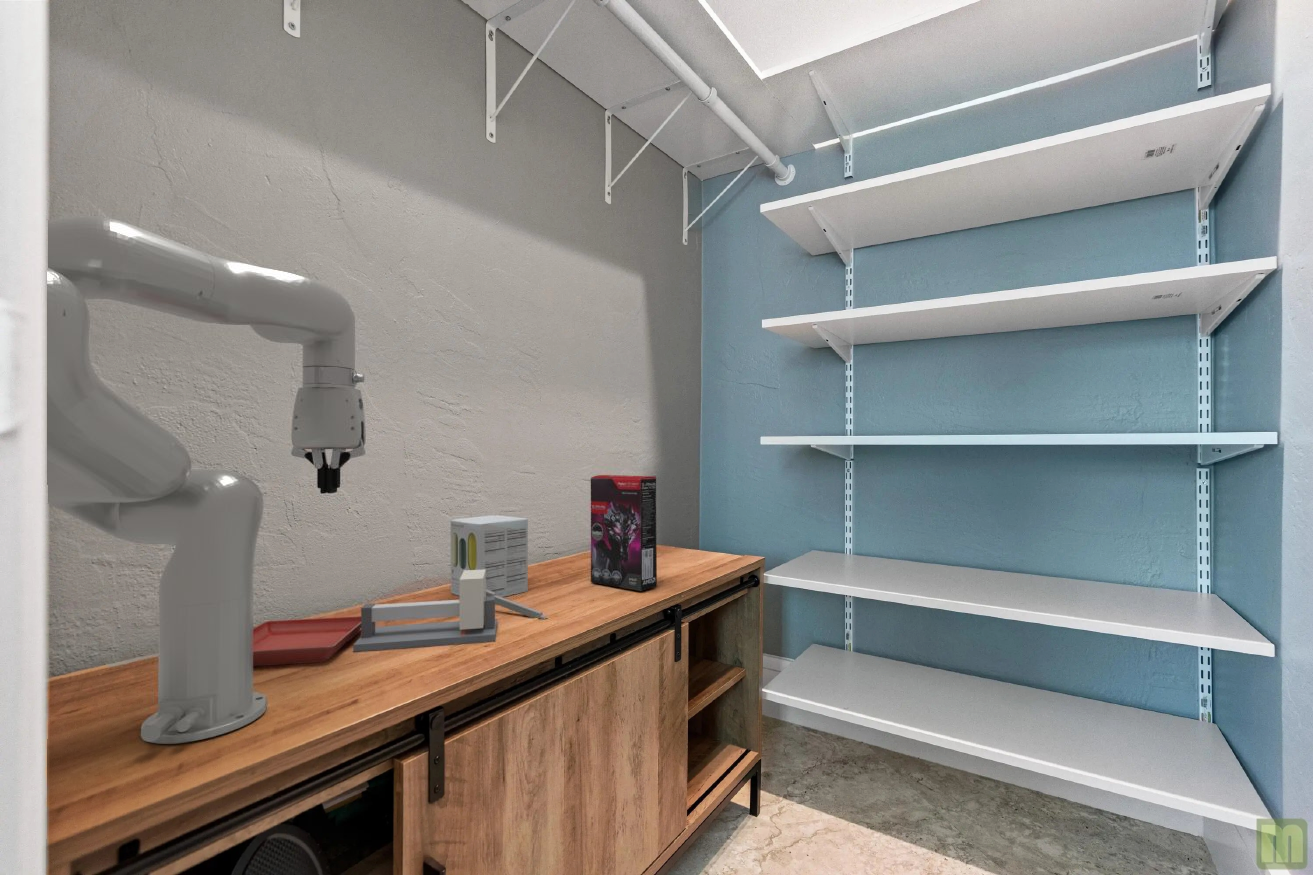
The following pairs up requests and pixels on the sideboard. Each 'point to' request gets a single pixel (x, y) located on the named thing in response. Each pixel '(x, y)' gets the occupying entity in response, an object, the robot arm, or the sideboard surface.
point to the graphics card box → (624, 531)
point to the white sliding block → (472, 599)
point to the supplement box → (491, 552)
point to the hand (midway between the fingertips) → (328, 492)
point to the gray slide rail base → (421, 625)
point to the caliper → (515, 606)
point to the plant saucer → (301, 639)
